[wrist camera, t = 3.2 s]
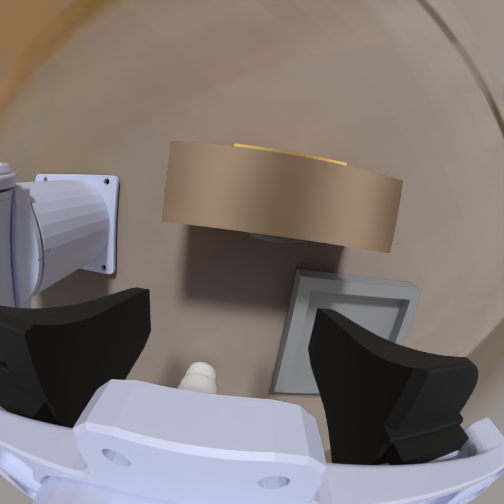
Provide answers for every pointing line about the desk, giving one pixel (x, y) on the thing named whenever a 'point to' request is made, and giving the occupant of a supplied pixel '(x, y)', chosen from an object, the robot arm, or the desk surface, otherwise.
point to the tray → (348, 304)
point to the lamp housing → (280, 195)
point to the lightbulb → (199, 379)
